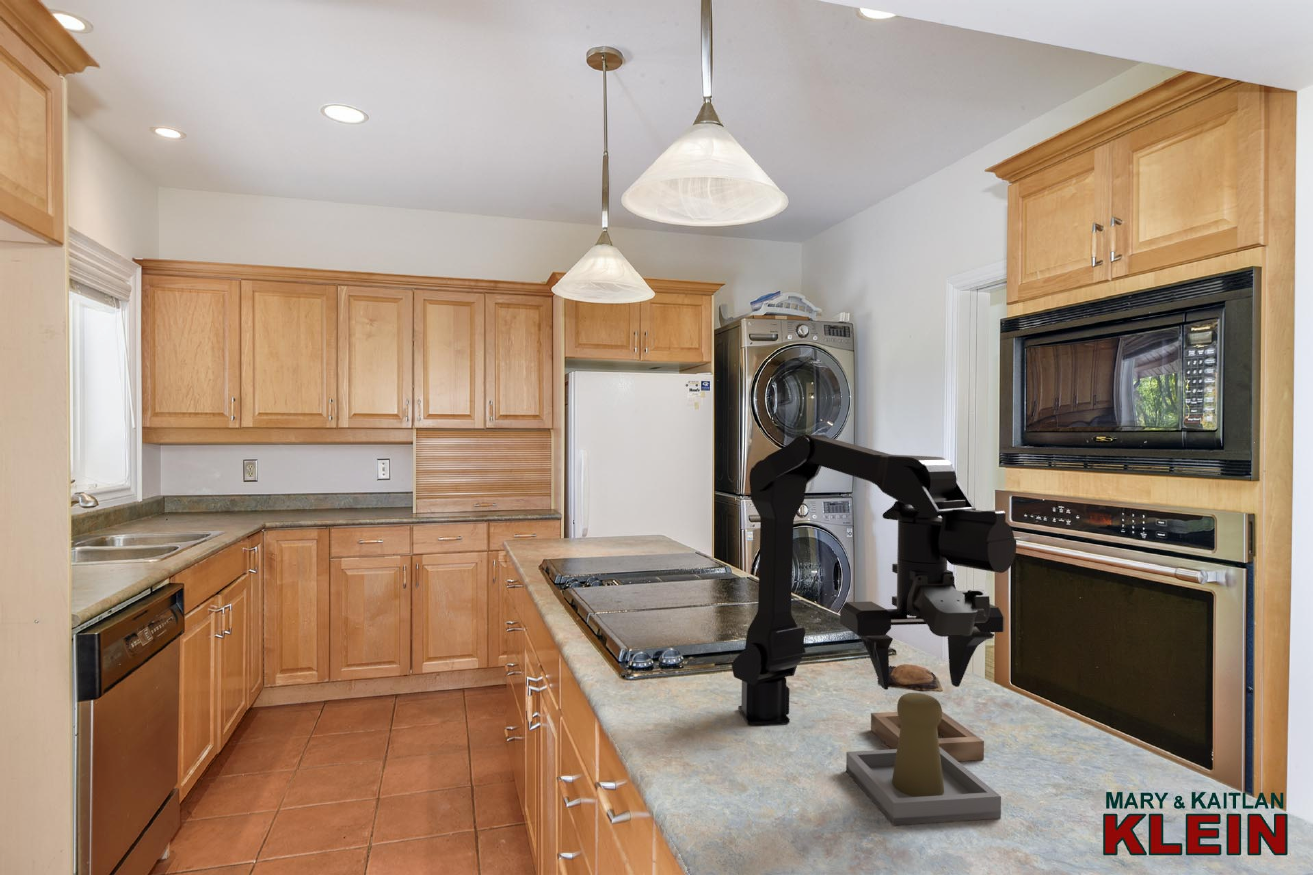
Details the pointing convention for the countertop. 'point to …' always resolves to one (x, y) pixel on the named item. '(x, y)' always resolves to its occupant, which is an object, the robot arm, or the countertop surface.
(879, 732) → the pin holder
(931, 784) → the cork
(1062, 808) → the countertop surface
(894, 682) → the bread roll
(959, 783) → the tray
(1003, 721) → the countertop surface
